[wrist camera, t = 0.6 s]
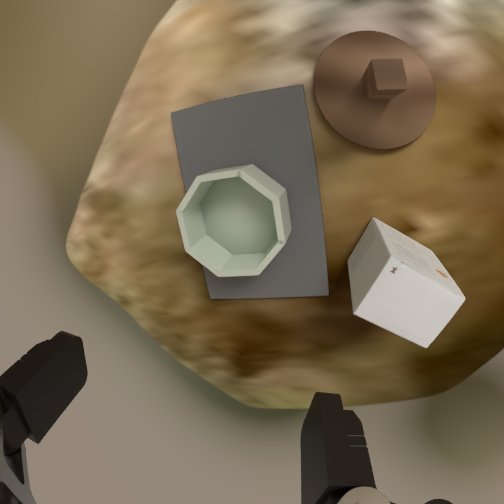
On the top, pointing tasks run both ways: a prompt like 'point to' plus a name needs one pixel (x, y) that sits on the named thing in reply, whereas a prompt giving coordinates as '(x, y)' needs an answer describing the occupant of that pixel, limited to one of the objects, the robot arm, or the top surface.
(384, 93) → the lid
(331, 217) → the top surface
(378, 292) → the small box
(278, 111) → the mat
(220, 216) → the bowl
